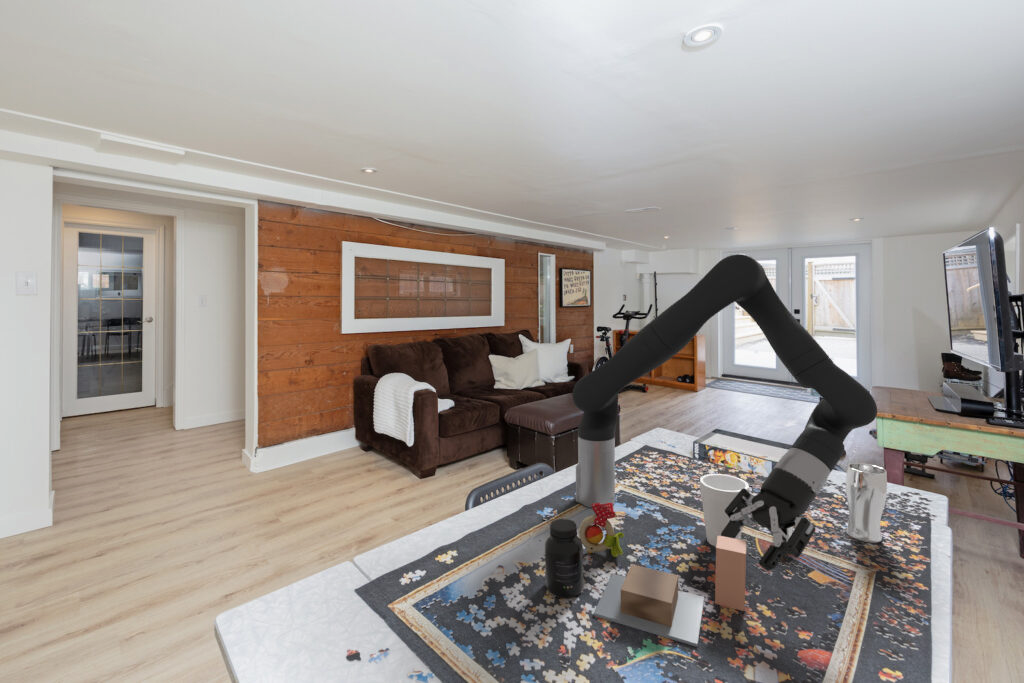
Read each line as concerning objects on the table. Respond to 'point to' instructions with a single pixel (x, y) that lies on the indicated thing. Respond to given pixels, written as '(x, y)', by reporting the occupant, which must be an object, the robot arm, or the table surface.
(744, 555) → the tall block
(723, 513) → the foam cup
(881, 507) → the beer glass
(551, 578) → the supplement bottle
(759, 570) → the table surface
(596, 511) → the bird rattle
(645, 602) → the base slab
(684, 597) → the building mat
